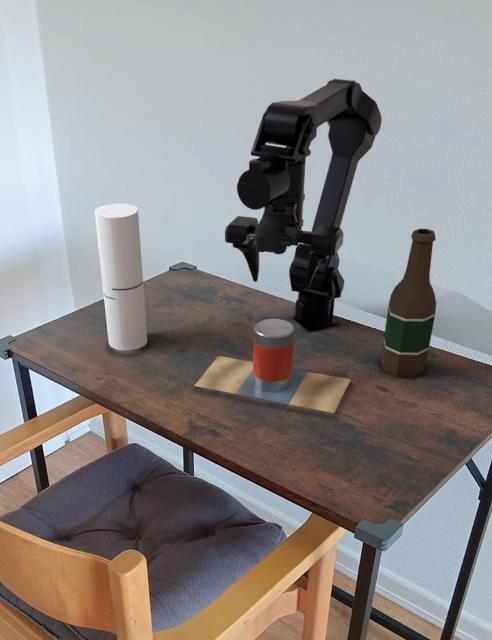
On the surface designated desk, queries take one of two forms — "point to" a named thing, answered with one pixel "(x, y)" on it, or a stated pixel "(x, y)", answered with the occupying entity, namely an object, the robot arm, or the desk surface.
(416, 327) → the beer bottle
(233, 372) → the board
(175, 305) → the desk surface
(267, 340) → the tin can
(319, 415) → the desk surface
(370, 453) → the desk surface
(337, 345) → the desk surface
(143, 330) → the cylindrical container
